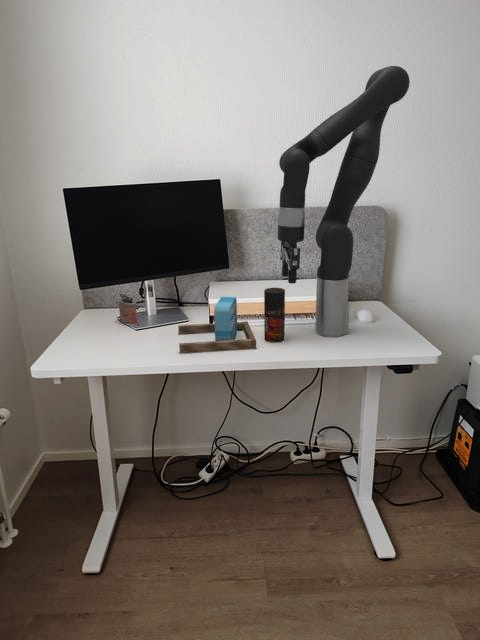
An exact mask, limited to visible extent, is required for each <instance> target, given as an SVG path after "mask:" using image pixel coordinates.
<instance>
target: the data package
mask: <svg viewBox="0 0 480 640" xmlns="http://www.w3.org/2000/svg"><path fill="white" fill-rule="evenodd" d="M237 304H238V303H237V297H236V296H221V297H220V298H219V299H218V301H217V302H216V304H215V305H214V308H213V309H214V310H213V311H214V312H213V314H214V315H213V318H214V320H213V321H214V323H215V333H214V339H215V340H214V341H225V340H236V336H237V334H238V331H237V322H238V308H237V307H238V305H237Z"/></svg>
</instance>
